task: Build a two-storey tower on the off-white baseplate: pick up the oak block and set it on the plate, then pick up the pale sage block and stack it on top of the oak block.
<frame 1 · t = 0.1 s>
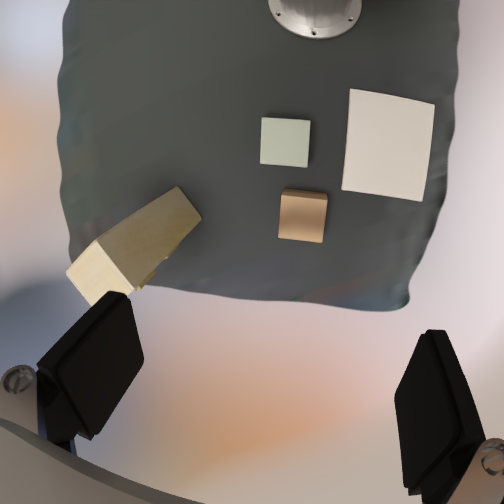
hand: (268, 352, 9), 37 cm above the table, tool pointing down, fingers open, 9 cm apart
baseplate: (388, 145, 38), on the table
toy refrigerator: (175, 217, 50), on the table
oak block: (303, 210, 45), on the table
sage block: (287, 139, 41), on the table
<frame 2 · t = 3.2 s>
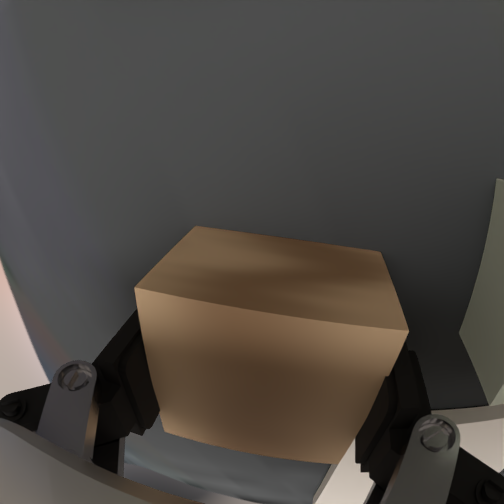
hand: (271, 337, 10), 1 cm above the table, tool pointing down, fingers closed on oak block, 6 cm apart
baseplate: (434, 462, 14), on the table
oak block: (277, 315, 11), on the table, touching gripper
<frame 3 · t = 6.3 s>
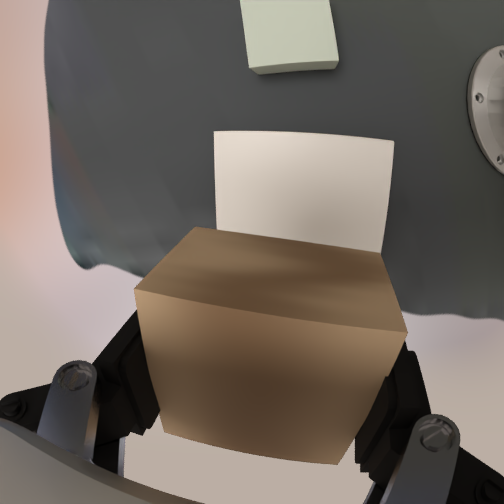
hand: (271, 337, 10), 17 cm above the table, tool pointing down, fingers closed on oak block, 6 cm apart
baseplate: (301, 204, 26), on the table
oak block: (276, 316, 11), point 16 cm above the table, touching gripper
sage block: (292, 37, 20), on the table
when the fingers open (4 cm above the table, at t = 9.5 s): oak block drops 1 cm, resting on baseplate.
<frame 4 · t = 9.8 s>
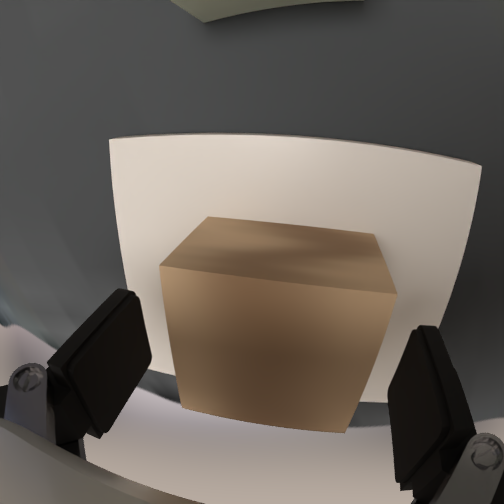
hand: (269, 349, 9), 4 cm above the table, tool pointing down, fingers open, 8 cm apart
baseplate: (284, 283, 13), on the table
oak block: (283, 296, 12), point 1 cm above the table, touching baseplate
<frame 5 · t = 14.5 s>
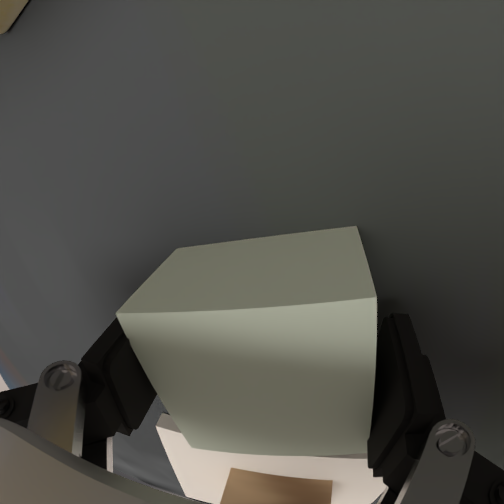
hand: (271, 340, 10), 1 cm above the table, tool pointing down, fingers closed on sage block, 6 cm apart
baseplate: (278, 479, 17), on the table
oak block: (277, 492, 16), point 1 cm above the table, touching baseplate
sage block: (277, 315, 11), on the table, touching gripper
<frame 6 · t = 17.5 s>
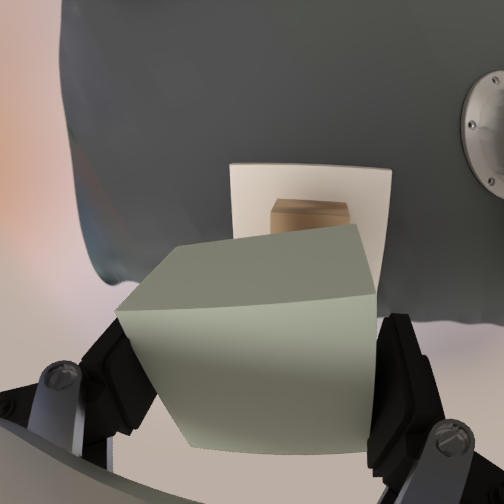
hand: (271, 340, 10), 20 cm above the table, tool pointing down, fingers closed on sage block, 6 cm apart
baseplate: (309, 228, 29), on the table
oak block: (310, 232, 28), point 1 cm above the table, touching baseplate
sage block: (277, 313, 11), point 18 cm above the table, touching gripper
when the fingers open (8 cm above the table, at t = 20.6 s): sage block drops 1 cm, resting on oak block.
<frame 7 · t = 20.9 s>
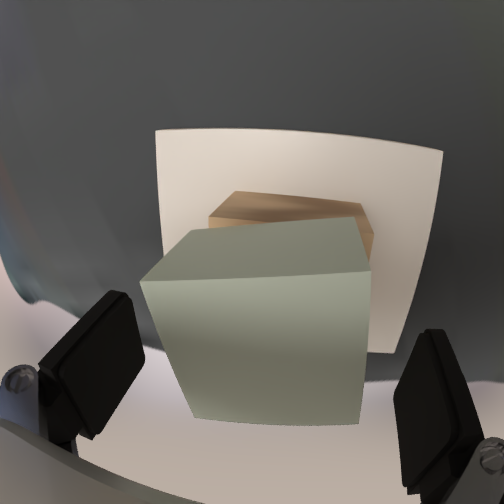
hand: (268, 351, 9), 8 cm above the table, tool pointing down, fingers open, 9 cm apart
baseplate: (292, 245, 17), on the table
oak block: (292, 254, 16), point 1 cm above the table, touching baseplate, sage block
sage block: (279, 295, 12), point 5 cm above the table, touching oak block
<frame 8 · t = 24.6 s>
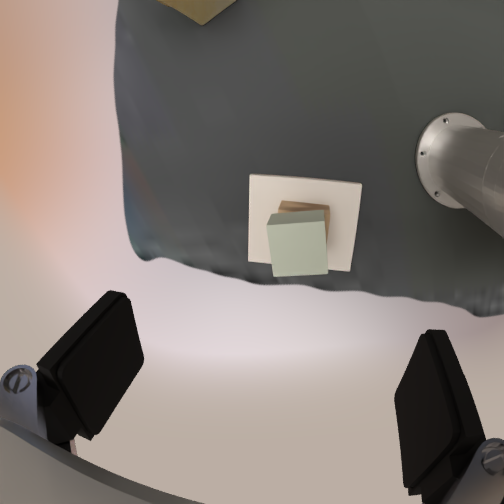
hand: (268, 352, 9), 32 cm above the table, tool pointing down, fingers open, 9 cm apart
baseplate: (302, 222, 41), on the table
oak block: (303, 225, 40), point 1 cm above the table, touching baseplate, sage block
sage block: (300, 236, 37), point 5 cm above the table, touching oak block
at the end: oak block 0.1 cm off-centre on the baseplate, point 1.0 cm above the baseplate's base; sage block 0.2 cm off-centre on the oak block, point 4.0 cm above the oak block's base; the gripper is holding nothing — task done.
